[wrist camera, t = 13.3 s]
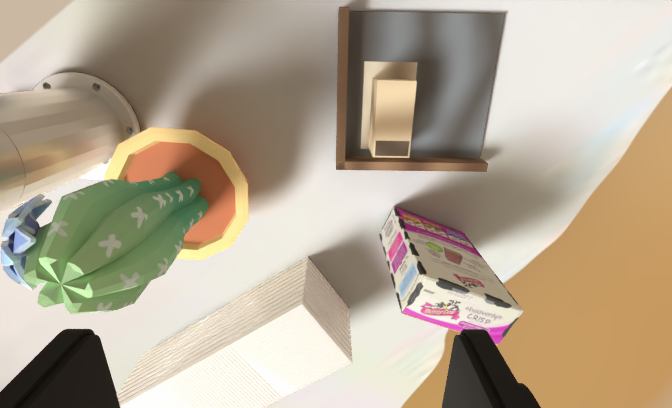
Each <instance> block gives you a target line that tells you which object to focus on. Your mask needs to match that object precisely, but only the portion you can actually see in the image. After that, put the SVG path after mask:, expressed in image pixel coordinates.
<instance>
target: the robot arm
mask: <svg viewBox="0 0 672 408" xmlns="http://www.w3.org/2000/svg"><path fill="white" fill-rule="evenodd" d="M99 86H100V87H99ZM132 129H133V130H132ZM139 133H140V126H139V123H138V120H137V117H136V115H135V113H134V111H133V109H132V107H131V106H130V104H129V103H128V102H127V100H126V99H125V98H124V97H123V96H122V95H121V94H120V93H119V92H118V91H117V90H116V89H115V88H114V87H112V86H111V85H109V84H108V83H107V82H105V81H103V80H101V79H99V78H97V77H95V76H91V75H88V74H85V73H77V72H63V73H58V74H53V75H51V76H49V77H46V78H44V79H43V80H42V81H40V82H39V83H38V84H37V85H36V86H35V88H34V89H33V90H32V91H21V92H10V93H0V213H2V212H5V211H7V210H10V209H12V208H14V207H16V206H19V205H21V204H23V203H25V202H27V201H29V200H31V199H32V198H34V197H35V196H37V195H38V194H42V195H43V194H45V193H47V192H49V191H51V190H54V189H56V188H58V187H60V186H63V185H65V184H67V183H69V182H71V181H74V180H76V179H78V178H83V179H89V180H103V179H104V174H105V172H106V170H107V167H108V165H109V163H110V161H111V159H112V157H113V154H114V152H115V150H116V148H117V146H118V144H120V143H122V142H124V141H125V140H127V139H129V138H131V137H133V136H135V135H137V134H139ZM0 408H120V404H119V401H118V397H117V394H116V391H115V387H114V384H113V380H112V377H111V374H110V370H109V367H108V364H107V360H106V357H105V354H104V350H103V347H102V344H101V340H100V338H99V336H98V335H95V334H94V332H93V331H92V330H91V329H66V330H63V331H62V332H60V333H59V334H58V335H57V336H56V337H55V338H54V339H53V340H52V341H51V342H50V343H49V344H48V345H47V346H46V347H45V348H44V349H43V350H42V351H41V352H40V353H39V354H38V355H37V356H36V357H35V358H34V359H33V360H32V361H31V362H30V363H29V364H28V365H27V366H26V367H25V368H24V369H23V370H22V371H21V372H20V373H19V374H18V375H17V376H16V377H15V378H14V379H13V380H12V381H11V382H10V383H9V384H8V385H7V386H6V387H5V388H4V389H3V390H2V391H1V392H0ZM442 408H541V407H540V406H539V404H538V402H537V401H536V399H535V398H534V396H533V394H532V393H531V392H530V390H529V389H528V387H526V386H525V385H524V384H522V383H518V382H517V381H516V379H515V377H514V375H513V374H512V372H511V370H510V369H509V367H508V365H507V364H506V362H505V361H504V359H503V357H502V355H501V354H500V352H499V350H498V348H497V347H496V345H495V343H494V342H493V340H492V338H491V336H490V335H489V333H488V332H487V331H486V330H485V329H463V330H462V331H461V334H460V335H456V336H455V338H454V343H453V348H452V353H451V359H450V364H449V370H448V376H447V381H446V387H445V392H444V399H443V404H442Z"/></svg>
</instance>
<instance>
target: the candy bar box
mask: <svg viewBox="0 0 672 408" xmlns="http://www.w3.org/2000/svg"><path fill="white" fill-rule="evenodd" d="M379 235H380V239H381V242H382V245H383V249H384V252H385V256H386V260H387V263H388V266H389V269H390V274H391V277H392V281H393V284H394V288H395V291H396V295H397V298H398V302H399V305H400V308H401V313H402V314H405V315H408V316H411V317H414V318H418V319H421V320H424V321H427V322H430V323H433V324H436V325H439V326H442V327H445V328H448V329H451V330H455V331H457V332H461V331H462V330H463V329H485V330H486V331H487V332H488V333H489V335H490V336H491V338H492V340H493V342H494V343H495V344H497V345H498V344H499V343H500V342H501V340H502V339H503V338H504V336H505V335H506V334H507V332H508V331H509V329H510V328H511V326H512V325H513V324H514V323H515V321H516V320H517V319H518V318H519V316H520V315H521V314H522V312H523V309H522V308H521V307H520V306H519V304H518V303H517V302H516V301H515V300H514V298H513V297H512V296H511V294H510V293H509V292H508V290H507V289H506V288H505V286H504V285H503V284H502V282H501V281H500V280H499V278H498V277H497V276H496V274H495V273H494V272H493V270H492V269H491V268H490V267H489V265H488V264H487V263H486V261H485V260H484V259H483V258H482V256H481V255H480V254H479V252H478V251H477V250H476V248H475V247H474V246H473V244H472V243H471V242H470V241H469V239H468V238H467V237H466V235H465V234H464V233H462V232H459V231H457V230H454V229H451V228H449V227H446V226H444V225H441V224H438V223H436V222H433V221H431V220H428V219H425V218H423V217H420V216H418V215H415V214H413V213H410V212H407V211H405V210H402V209H400V208H397V207H395V206H394V207H393V209H392V211H391V213H390V215H389V217H388V219H387V221H386V223H385V225H384V226H383V228H382V230H381V232H380V234H379Z"/></svg>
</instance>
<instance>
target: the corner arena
mask: <svg viewBox="0 0 672 408" xmlns="http://www.w3.org/2000/svg"><path fill="white" fill-rule="evenodd" d="M504 15H505V14H475V13H427V12H380V11H349V7H339V22H338V79H337V136H336V170H399V171H477V172H487V166H488V163H486V162H485V161H483V160H482V159H480V154H481V148H482V142H483V137H484V131H485V125H486V119H487V113H488V108H489V102H490V96H491V90H492V85H493V79H494V73H495V67H496V61H497V56H498V50H499V44H500V38H501V33H502V27H503V21H504ZM372 78H384V79H409V80H414V81H417V86H416V96H415V105H414V115H413V125H412V135H411V145H410V155H409V158H385V157H373V156H372V154H371V152H370V150H369V147H368V146H369V129H370V111H371V93H372Z"/></svg>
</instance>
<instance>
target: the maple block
mask: <svg viewBox="0 0 672 408" xmlns="http://www.w3.org/2000/svg"><path fill="white" fill-rule="evenodd" d="M416 86H417V81H414V80H409V79H384V78H372V93H371V111H370V129H369V146H368V147H369V150H370V152H371V154H372V156H373V157H385V158H409V155H410V145H411V135H412V125H413V115H414V105H415V96H416Z"/></svg>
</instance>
